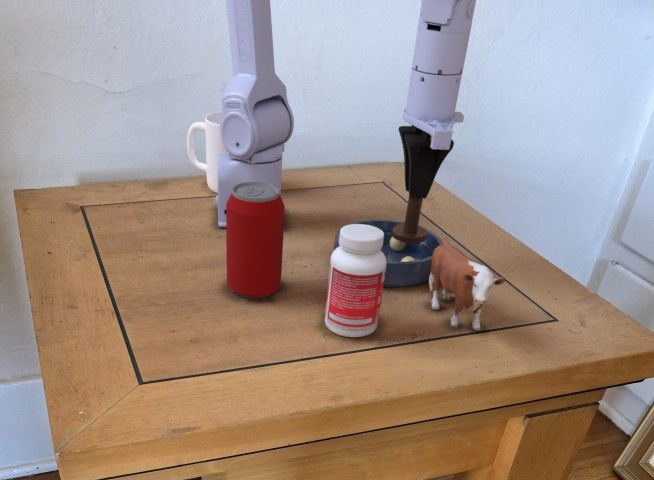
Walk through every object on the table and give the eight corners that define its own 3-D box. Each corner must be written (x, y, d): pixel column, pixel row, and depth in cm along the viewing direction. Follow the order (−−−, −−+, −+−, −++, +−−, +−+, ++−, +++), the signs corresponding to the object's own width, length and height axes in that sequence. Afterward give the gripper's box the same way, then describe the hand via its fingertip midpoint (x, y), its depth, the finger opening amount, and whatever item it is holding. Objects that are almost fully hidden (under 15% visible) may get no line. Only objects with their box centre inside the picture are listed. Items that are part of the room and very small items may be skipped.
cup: (246, 199, 109) (247, 128, 102) (177, 187, 112) (173, 117, 105) (265, 183, 115) (267, 115, 108) (199, 171, 118) (197, 105, 111)
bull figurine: (461, 349, 78) (478, 280, 73) (417, 294, 88) (429, 229, 82) (496, 345, 79) (516, 278, 74) (449, 292, 89) (464, 228, 83)
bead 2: (399, 277, 90) (402, 260, 88) (396, 269, 91) (399, 253, 90) (416, 277, 90) (419, 260, 89) (413, 269, 92) (416, 253, 90)
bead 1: (390, 253, 95) (392, 237, 94) (387, 247, 97) (389, 231, 95) (405, 253, 95) (408, 238, 94) (402, 247, 97) (405, 231, 95)
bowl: (339, 289, 88) (342, 262, 86) (327, 243, 98) (329, 218, 96) (449, 290, 89) (455, 264, 87) (425, 245, 99) (430, 220, 97)
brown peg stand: (395, 243, 89) (408, 162, 83) (388, 229, 93) (400, 150, 86) (430, 243, 90) (445, 163, 83) (422, 229, 93) (437, 151, 86)
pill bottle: (383, 337, 79) (399, 242, 72) (332, 341, 78) (343, 245, 71) (366, 311, 84) (379, 219, 76) (318, 315, 83) (326, 221, 75)
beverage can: (289, 284, 88) (295, 186, 80) (266, 306, 84) (269, 205, 75) (241, 272, 90) (242, 175, 82) (216, 293, 86) (215, 193, 77)
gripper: (489, 86, 73) (461, 216, 83) (456, 57, 84) (434, 175, 93) (424, 84, 73) (402, 215, 82) (398, 55, 83) (382, 174, 93)
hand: (415, 194), depth 88 cm, fingers closed on brown peg stand
